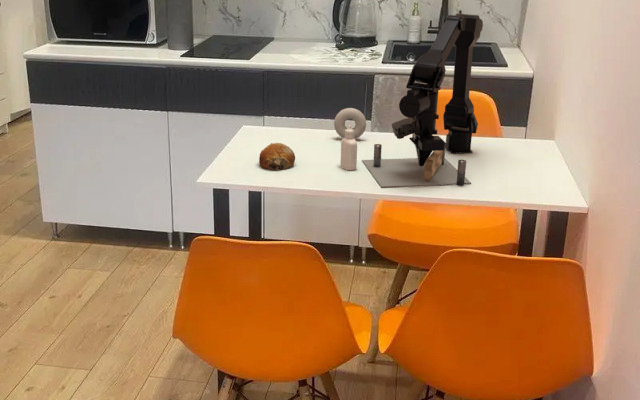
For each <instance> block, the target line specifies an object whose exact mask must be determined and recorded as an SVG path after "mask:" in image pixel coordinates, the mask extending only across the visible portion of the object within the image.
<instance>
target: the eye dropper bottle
mask: <svg viewBox="0 0 640 400" xmlns="http://www.w3.org/2000/svg"><path fill="white" fill-rule="evenodd" d="M347 128H348V129H346V130H345V138H341V141H340V167H341V168H342V169H344V170H347V171H355V170H357V163H358V162H357V161H358V160H357V159H358V144H357V143H358V142H357V141H356V139H354V130H353V128H352V124H348V126H347Z"/></svg>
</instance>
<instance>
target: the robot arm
mask: <svg viewBox="0 0 640 400" xmlns="http://www.w3.org/2000/svg"><path fill="white" fill-rule="evenodd" d="M483 27H484V23H483V20H482V18H481V17H480V15H478V14H466V13H465V14H464V13H456V14H449V15H446V16H444V19H443V24H442V26H441V28H440V30H439V32H438V34H437V36H436V37H435V40H434V41H433V43H432V45H431V47H430V49H429V50H428V51H427V52H425V53H423V54H422V55H421V56H420V57H419V58H418V59H417V61H416V62H415V64H413V66H412V69H411V72H410V75H409V78H408V81H407V83H406V87H405V88H406V89H408V90H407V91H406V95H404V96H403V97H401V99H400V101H399V104H398V108H399V109H398V110H399V111H400V113H401V114H402V115H403V116H404V117H406V118H402V119H400V120H397V121H394V122H392V124H391V127H392V131H393V134H394V136H395V137H396V139H398V140H400V139H401V140H402V139H404V138H405V137H407V136H410V135H412V137H409V138H408V139H409V140H410V141H411V142H412V143H413V145H414V147H415V151H416V156H417V157H416V158H418V163H419V166H424V164H425V161H426V160H427V159H428V157H429V156H430V155H431V154H432V153H433V151H442V150H445V151H448V152H449V153H451V154H472V153H473V150H472V149H471V146H472V139H473V138H472V137H473V135H472V134H476V133H477V130H478V126H479V123H478V120H477V118H476V115H475V113H474V112H475V107H474V104H473V102H472V100H471V98H470V90H471V89H470V87H471V79H472V78H471V77H472V76H471V75H472V64H473V53H474V46H475V45H476V43H477V42H478V40H479V39H480V37H481V32H482V30H483ZM454 46H455V52H454V53H455V55H454V68H453V69H454V70H453V78H452V79H453V83H452V93H451V99H449V101H448V102H447V103H446V104H445V106H444V113H443V118H442V120H443V129H444V131H448V132H447V133H448V134H446V136H445V140H443V138H441V136H439V135H438V130H437V128H436V124H437V120H439V114H438V113H437V112H438V111H437V110H438V101H439V91H440V90H441V88H442V87H441V86H442V84H443V81H444V79H445V76H446V71H447V70H446V65H445V62H446V61H447V59H448V56H449V55H450V53H451V52H452V51H451V50H452V49H453V47H454ZM445 144H446V147H445Z"/></svg>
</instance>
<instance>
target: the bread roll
mask: <svg viewBox="0 0 640 400" xmlns="http://www.w3.org/2000/svg"><path fill="white" fill-rule="evenodd" d="M258 160H259V165H260V167H261V168H262V169H265V170H270V171H282V170H287V169H290V168H292V167H293V166H295V163H296V162H295V161H296V155H295V152H294V151H293V149H292V148H291V147H289V146H288V145H286V144H284V143H281V142H276V143H275V142H274V143H273V142H271V143H270V144H269V145H267V146H266V147H264V149H261V151H260V154H259V159H258Z"/></svg>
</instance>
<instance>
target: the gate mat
mask: <svg viewBox="0 0 640 400" xmlns="http://www.w3.org/2000/svg"><path fill="white" fill-rule="evenodd" d="M361 162H362V163H363V165H364V166H365V168H366V169H367V170H368V171H369V173H370V174H371V176H372V177H373V179H374V180H375V181H376V183H377V184H378V185H379V187H380V188H381V189H385V188H386V189H387V188H388V189H389V188H409V187H410V188H411V187H413V188H415V187H436V186H438V187H439V186H458V185H457V183H456V182H457V171H458V168H456V167H455V166H454V165H453V164H452V163H451V162H450V161H448V159H446V158H445V159H444V165H440V167H439V168H438V169H437V171H436V172H435V173H434V175H433V176H432V178H431V180H424V173H425V164H424V166H419V163H418V157H415V158H414V157H411V158H409V157H407V158H381V167H373V162H374V159H362V160H361ZM464 185H472V182H471V181H470V180H469V179H468V178H467V177H466V176H465V181H464Z"/></svg>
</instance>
